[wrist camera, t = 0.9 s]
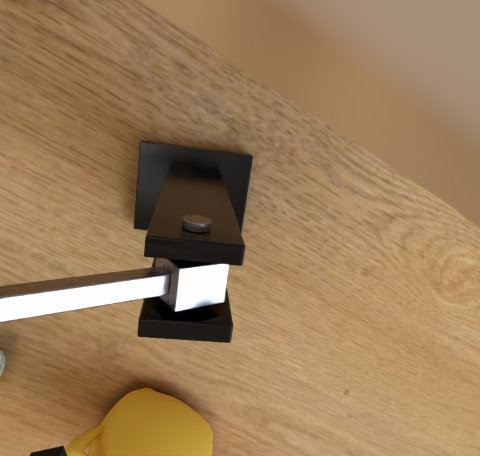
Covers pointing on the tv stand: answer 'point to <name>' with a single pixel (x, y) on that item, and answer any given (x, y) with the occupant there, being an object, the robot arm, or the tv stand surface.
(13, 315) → the lever
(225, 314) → the bracket
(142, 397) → the teapot
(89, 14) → the tv stand surface
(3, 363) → the pale green rounded lump
